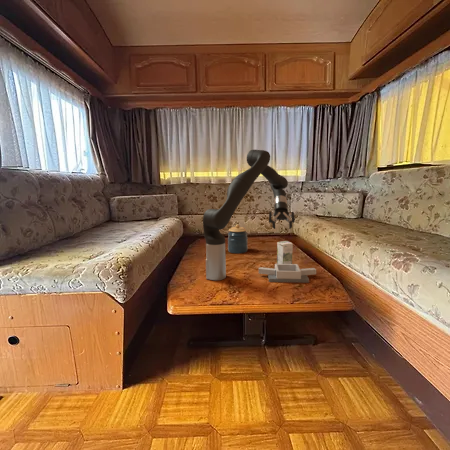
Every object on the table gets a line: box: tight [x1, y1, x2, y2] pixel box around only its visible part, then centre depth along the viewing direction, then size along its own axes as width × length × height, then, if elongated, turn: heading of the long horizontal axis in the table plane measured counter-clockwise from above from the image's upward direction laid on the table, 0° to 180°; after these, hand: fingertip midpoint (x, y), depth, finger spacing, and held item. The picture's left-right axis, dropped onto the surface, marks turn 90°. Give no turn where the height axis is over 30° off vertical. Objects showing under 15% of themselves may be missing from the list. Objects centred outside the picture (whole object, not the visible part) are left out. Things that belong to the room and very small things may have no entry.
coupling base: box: [258, 263, 317, 284], centre depth 133 cm, size 27×12×5 cm, turn 85°
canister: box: [227, 223, 249, 254], centre depth 181 cm, size 13×13×18 cm
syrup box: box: [276, 240, 294, 264], centre depth 144 cm, size 6×6×14 cm
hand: (282, 228), depth 154 cm, fingers open, 8 cm apart
